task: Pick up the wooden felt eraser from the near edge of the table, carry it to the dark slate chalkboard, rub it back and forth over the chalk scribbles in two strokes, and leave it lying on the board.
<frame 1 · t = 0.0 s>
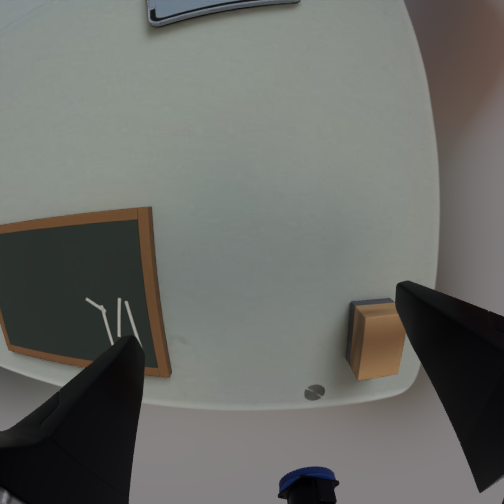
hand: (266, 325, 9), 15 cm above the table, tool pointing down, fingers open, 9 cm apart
chalkboard: (58, 294, 25), on the table
eraser: (368, 329, 25), on the table
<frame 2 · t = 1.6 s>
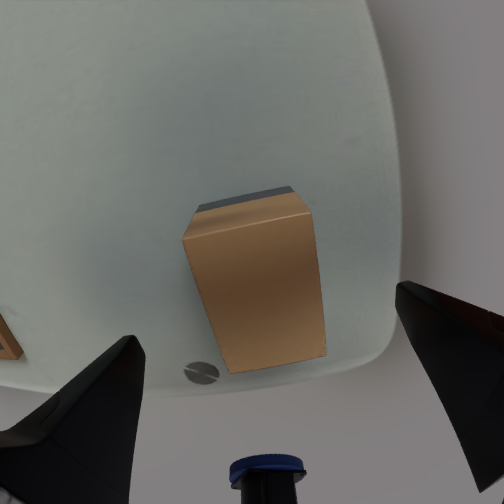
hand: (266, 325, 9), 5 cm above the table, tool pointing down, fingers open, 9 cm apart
eraser: (258, 257, 13), on the table
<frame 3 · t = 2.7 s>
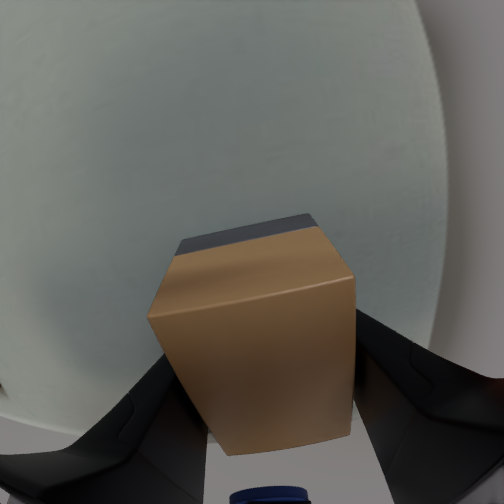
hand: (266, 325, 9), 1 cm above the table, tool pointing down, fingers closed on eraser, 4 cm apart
eraser: (263, 306, 10), on the table, touching gripper
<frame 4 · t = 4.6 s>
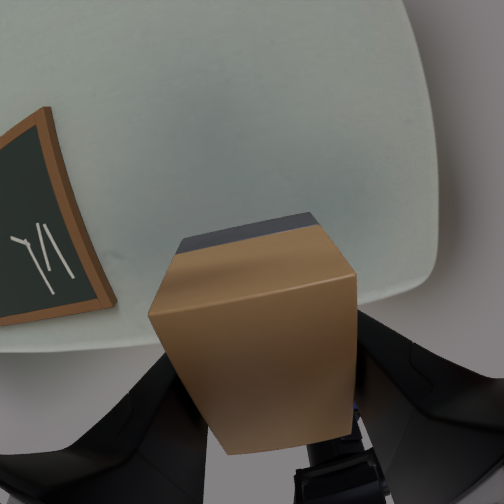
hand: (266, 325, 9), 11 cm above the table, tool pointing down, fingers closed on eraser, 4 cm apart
eraser: (264, 305, 10), point 10 cm above the table, touching gripper
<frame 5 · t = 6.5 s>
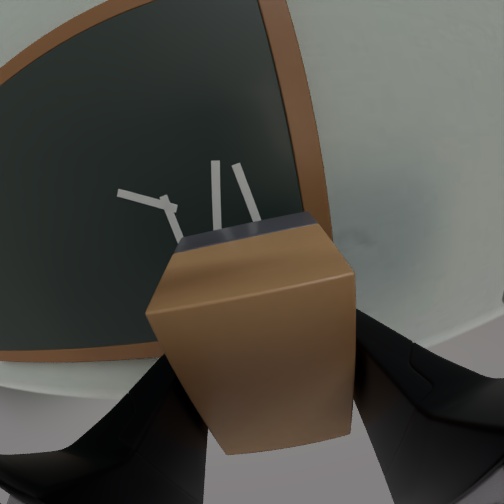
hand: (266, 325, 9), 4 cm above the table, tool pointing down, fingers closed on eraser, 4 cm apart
chalkboard: (49, 214, 11), on the table
eraser: (262, 305, 10), point 3 cm above the table, touching gripper
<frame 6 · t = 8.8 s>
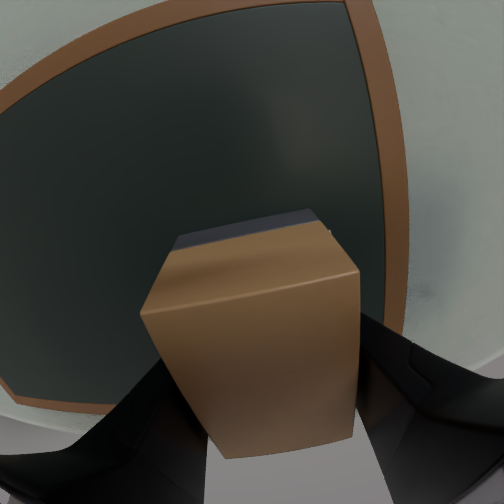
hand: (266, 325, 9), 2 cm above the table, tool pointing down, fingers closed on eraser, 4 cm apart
chalkboard: (83, 269, 10), on the table
eraser: (262, 305, 10), point 1 cm above the table, touching gripper
when the fingers open (2 cm above the table, at t = 10.1 s): eraser stays where it is, resting on chalkboard.
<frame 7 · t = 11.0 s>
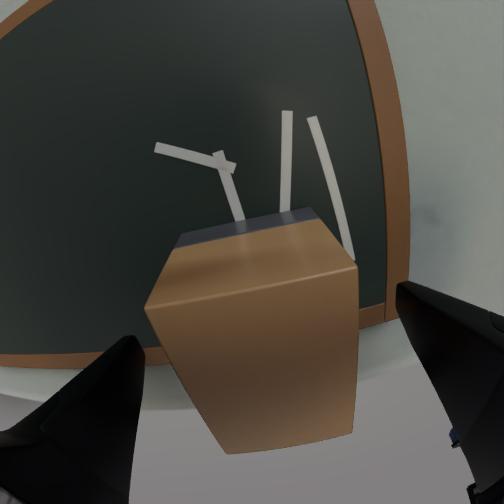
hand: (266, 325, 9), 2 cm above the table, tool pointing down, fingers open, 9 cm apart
chalkboard: (58, 183, 9), on the table
eraser: (263, 302, 10), point 1 cm above the table, touching chalkboard
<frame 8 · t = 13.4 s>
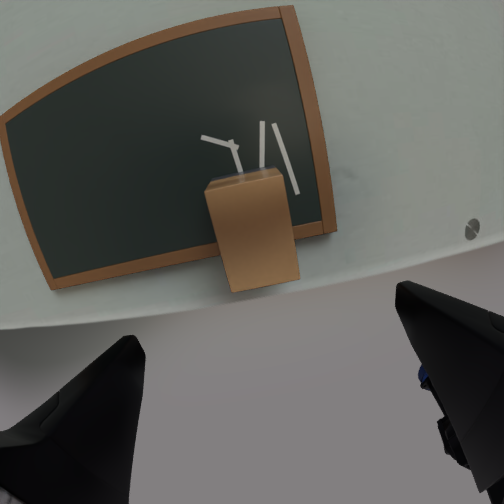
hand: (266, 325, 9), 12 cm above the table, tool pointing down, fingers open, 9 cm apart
chalkboard: (140, 154, 18), on the table
eraser: (252, 215, 19), point 1 cm above the table, touching chalkboard
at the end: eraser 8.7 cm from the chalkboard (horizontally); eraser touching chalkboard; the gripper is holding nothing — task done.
